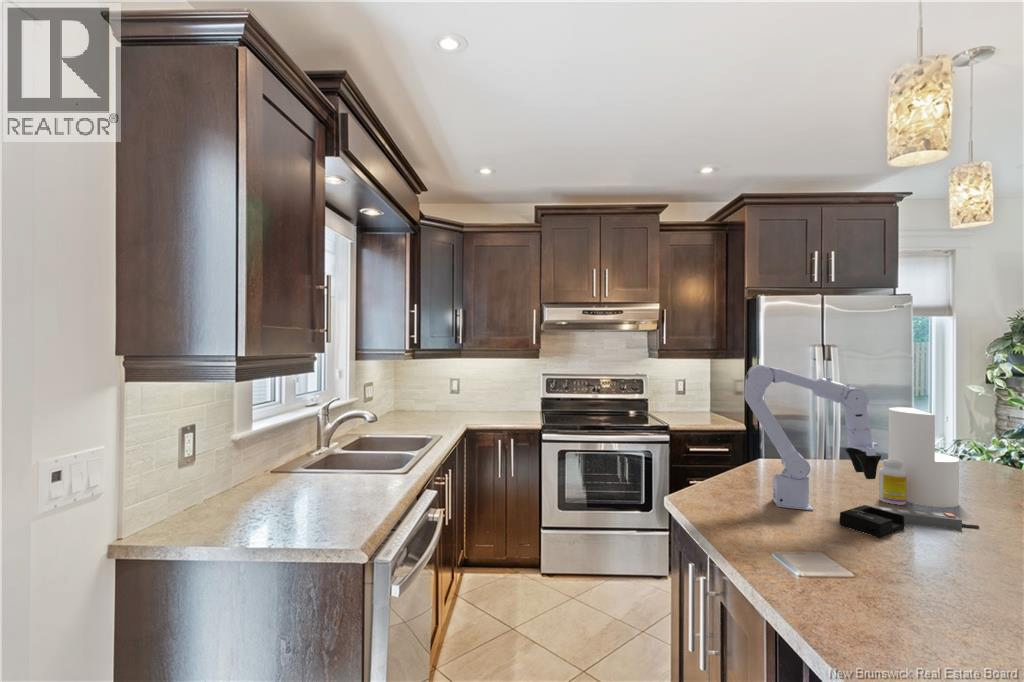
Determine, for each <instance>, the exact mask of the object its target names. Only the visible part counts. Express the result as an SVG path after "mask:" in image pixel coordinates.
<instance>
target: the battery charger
mask: <svg viewBox="0 0 1024 682" xmlns="http://www.w3.org/2000/svg"><path fill="white" fill-rule="evenodd" d="M867 505H868V504H864V505H860V506H857V507H853V508H849V509H846V510H843V511H840V512H839V519H838V521H839V526H840V525H841V527H843V526H844V528H846V527H847V528H846V529H849V528H851V529H850V530H852V529H854V530H853V531H856V530H857V531H856V532H859V531H860V533H862V532H864V533H863V534H865V533H867V534H866V535H868V534H870V535H869V536H871V535H872V536H871V537H874V536H876V537H875V538H877V537H878V539H882V538H884V536H885V537H887V536H890V535H892V533H893V534H895V532H896V533H898V532H901V531H904V530H905V524H906V523H904V516H903V515H900V514H896V513H892V512H889V511H885V510H881V509H878V508H874V507H870V506H871V505H870V506H867ZM903 529H904V530H903ZM900 530H901V531H900ZM889 534H890V535H889ZM881 537H882V538H881Z"/></svg>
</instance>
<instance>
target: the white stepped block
mask: <svg viewBox="0 0 1024 682" xmlns="http://www.w3.org/2000/svg"><path fill="white" fill-rule="evenodd" d="M887 439H888V441H887V442H888V443H887V444H888V446H887V447H888V450H887V451H888V452H887V459H889V460H897V461H900V462H902V467H901V469H902V470H903V471H904V472H905V473H906V501H909V502H908V503H910V502H912V503H911V504H915V503H916V504H915V505H920V506H925V505H926V506H925V507H927V506H928V507H932V506H933V507H934V508H943V507H951V508H957V507H959V505H960V458H958V457H956V456H952V455H948V454H945V453H939V452H936V415H935V414H933V413H930V412H927V411H923V410H920V409H917V408H914V407H889V408H888V438H887Z"/></svg>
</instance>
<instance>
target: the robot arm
mask: <svg viewBox="0 0 1024 682" xmlns="http://www.w3.org/2000/svg"><path fill="white" fill-rule="evenodd" d="M744 378H745V379H744V382H745V383H744V400H745V402H746V403H747V404H748V407H750V410H751V411H752V412H753V414H754V416H755V417H756V419H757V421H758V422H759V423H760V425H761V427H762V428H763V430H764V431H765V433H766V435H767V436H768V438H769V440H770V441H771V443H772V445H773V446H774V447H775V449H776V450H777V452H778V454H779V455H780V459H781V460H780V462H781V464H782V465H781V466H783V467H784V468H783V470H782V471H781V474H773V476H772V497H771V499H772V500H773V502H774V504H775V506H776V507H779V508H786V509H787V508H788V509H796V510H807V511H814V508H813V507H812V506H811V504H810V501H809V500H810V476H809V474H810V473H811V465H810V463H809V462H808V461H807V460H806V459H805V458H804V457H803V455H802V454H801V453H800V452H798V451H797V449H796V448H795V447H794V445H793V444H792V442H791V441H790V439H789V437H788V436H787V435H786V432H785V431H784V430H783V428H782V426H781V425H780V424H779V422H778V420H777V418H776V417H775V415H774V414H773V413H772V411H771V410H770V407H769V406H768V405H767V404H766V402H765V400H764V399H763V398H764V395H765V393H766V389H767V388H768V387H769V386H770V385H771V384H772V383H774V384H777V383H778V384H779V383H783V382H785V383H788V384H791V385H795V386H798V387H802V388H805V389H809V390H811V392H812V393H813V395H814V396H816V397H819V398H822V399H825V400H828V401H831V402H835V403H837V404H838V403H839V404H840V403H841V404H842V405H843V410H844V413H843V415H844V422H845V427H846V434H847V446H848V447H844V451H845V452H846V453H847V455H848V457H849V459H850V461H851V463H852V466H853V468H854V471H855V472H856V473H863V475H864V477H865V479H866V480H876V477H877V471H878V466H879V463H880V461H881V459H882V455H881V454H879V453H877V454H876V448H875V447H877V446H879V444H878V442H874V441H873V438H872V430H871V423H870V418H869V417H870V416H869V413H868V405H869V402H870V397H869V396H868V395H867V393H866V392H865V391H864V390H863V389H860V388H857V387H854V386H853V385H852V386H851V384H848V383H846V382H845V384H844V383H840V382H838V381H834V380H833V378H831V377H827V376H826V377H820V378H817V379H814V378H813V379H812V378H809V377H807V376H804V375H802V374H798V373H795V372H792V371H789V370H786V369H784V368H777V367H773V366H764V365H762V364H755V365H753V366H751V367H749V369H748V371H747V372H746V375H745V377H744Z"/></svg>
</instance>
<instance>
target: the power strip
mask: <svg viewBox="0 0 1024 682" xmlns="http://www.w3.org/2000/svg"><path fill="white" fill-rule="evenodd" d="M866 505H867V506H870V507H874V508H878V509H881V510H885V511H889V512H892V513H896V514H900V515H903V516H904V523H905V524H908V525H917V526H924V527H925V526H927V527H935V526H936V527H937V528H944V527H946V528H945V529H953V528H954V530H963V528H970V529H971V528H973V529H979V528H980V526H979V525H978V524H970V523H968V524H967V523H963V519H961V518H959V517H958V516H956V515H955V514H953V513H950V512H940V511H939V512H937V511H929V510H918V509H908V508H900V507H899V508H897V507H888V506H878V505H868V504H866ZM936 527H935V528H936Z"/></svg>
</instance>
